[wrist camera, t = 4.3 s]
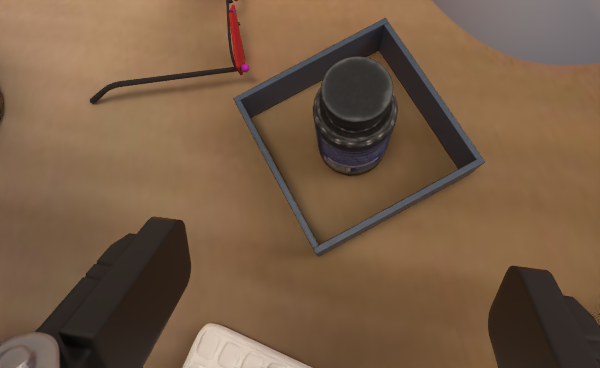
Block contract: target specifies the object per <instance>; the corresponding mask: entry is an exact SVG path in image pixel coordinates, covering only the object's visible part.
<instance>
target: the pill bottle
mask: <svg viewBox="0 0 600 368" xmlns="http://www.w3.org/2000/svg"><path fill="white" fill-rule="evenodd" d="M397 111H398V107H397V101H396V97H395V95H394V93H393V82H392V79H391V76H390V74H389V73H388V71H387V70H386V69H385V68H384V67H383V66H382V65H381V64H380V63H378V62H377V61H375V60H373V59H370V58H367V57H349V58H346V59H343V60H341V61H339V62H337V63H336V64H334V65H333V66H332V67H331V68H330V69H329V70H328V71H327V73H326V74H325V76H324V78H323V81H322V84H321V88H320V89H319V90H318V93H317V94H316V97H315V100H314V105H313V116H314V122H315V128H316V135H317V141H318V147H319V151H320V154H321V156H322V158H323V160H324V162H325V163H326V164H327V165H328V166H329V167H331V168H332V169H333V170H335V171H337V172H339V173H343V174H346V175H357V174H362V173H365V172H368V171H370V170H371V169H373V168H374V167H375V166H376V165H377V164H378V163H379V162H380V161H381V159H382V157H383V155H384V153H385V150H386V147H387V144H388V142H389V139H390V136H391V133H392V130H393V127H394V125H395V122H396V117H397Z"/></svg>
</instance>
